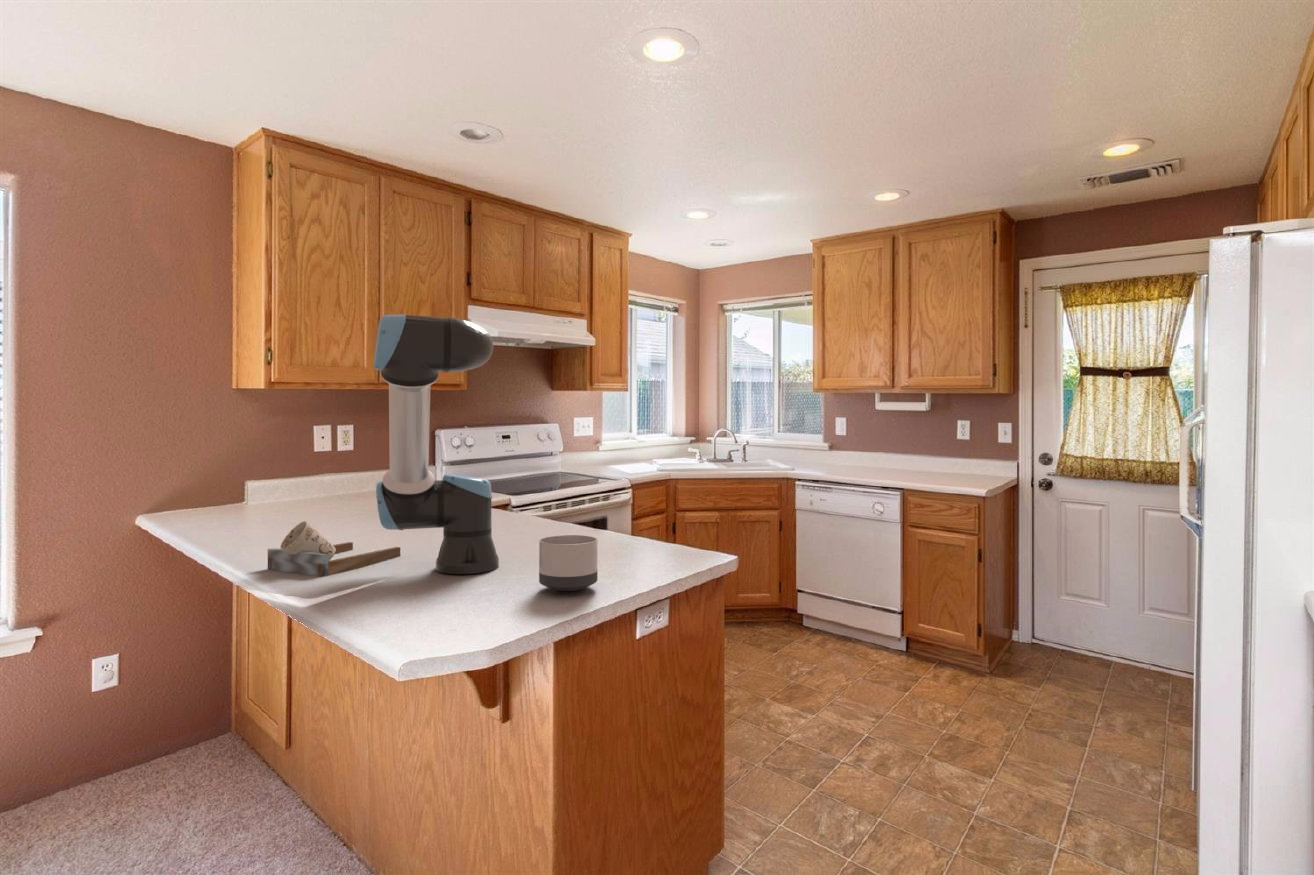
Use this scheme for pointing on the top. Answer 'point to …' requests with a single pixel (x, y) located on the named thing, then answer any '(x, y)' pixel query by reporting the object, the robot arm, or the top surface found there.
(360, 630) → the top surface
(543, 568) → the planter
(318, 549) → the mug
